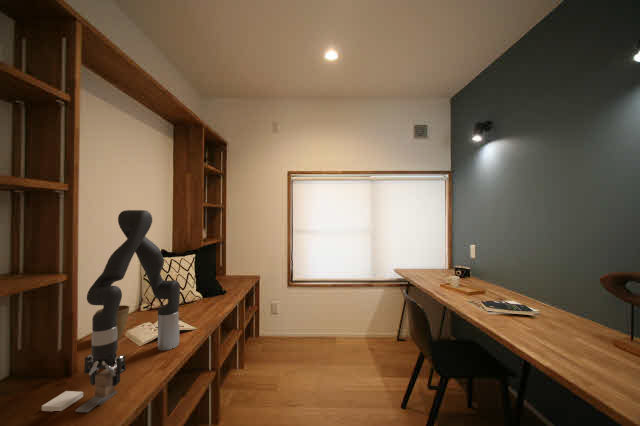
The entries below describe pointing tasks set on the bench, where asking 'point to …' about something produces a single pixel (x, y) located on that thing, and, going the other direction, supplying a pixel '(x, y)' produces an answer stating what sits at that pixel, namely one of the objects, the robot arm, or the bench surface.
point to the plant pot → (121, 318)
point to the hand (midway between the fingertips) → (105, 384)
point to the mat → (108, 398)
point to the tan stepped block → (99, 391)
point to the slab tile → (62, 401)
